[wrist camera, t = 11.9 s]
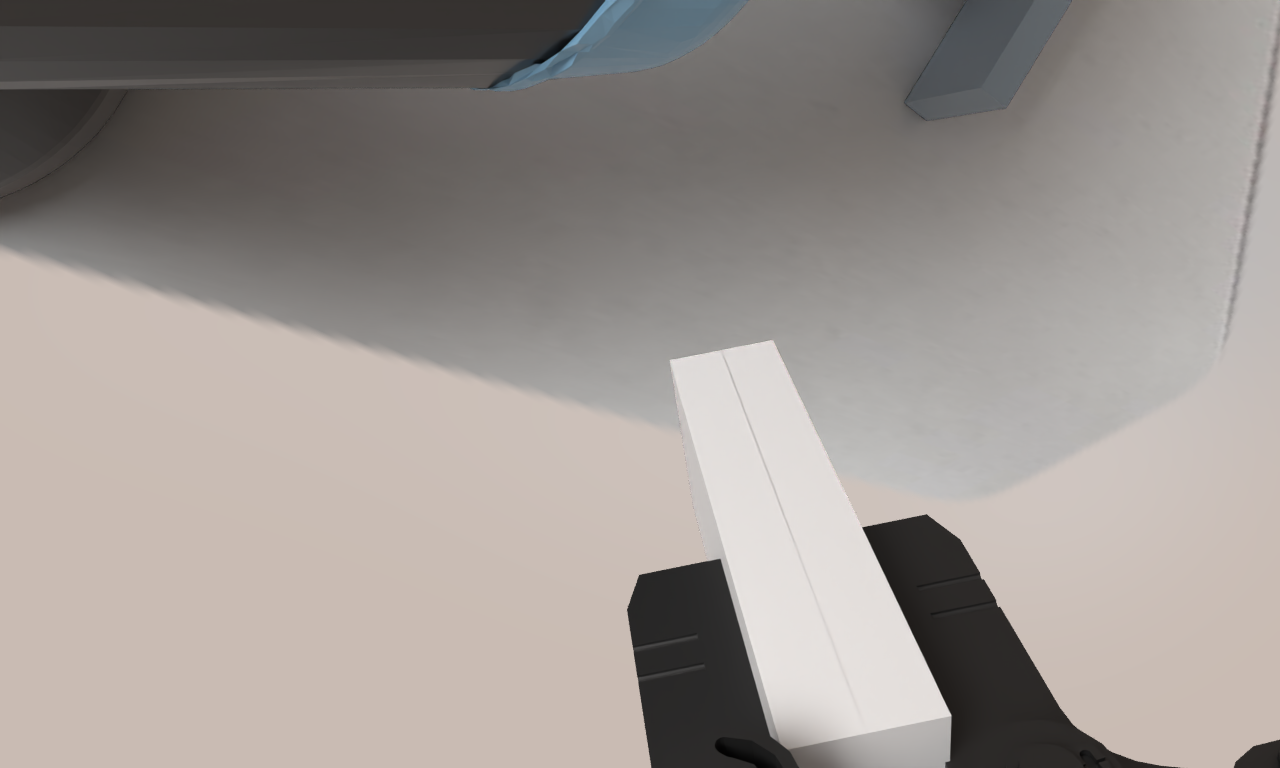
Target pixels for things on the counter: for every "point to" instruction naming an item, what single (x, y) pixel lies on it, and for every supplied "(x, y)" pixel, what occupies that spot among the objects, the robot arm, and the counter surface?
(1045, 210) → the counter surface
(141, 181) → the counter surface
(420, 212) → the counter surface
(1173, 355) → the counter surface
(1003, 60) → the tray
